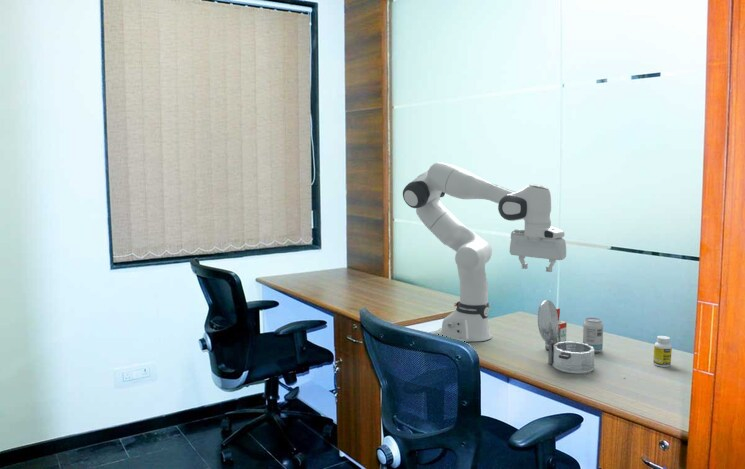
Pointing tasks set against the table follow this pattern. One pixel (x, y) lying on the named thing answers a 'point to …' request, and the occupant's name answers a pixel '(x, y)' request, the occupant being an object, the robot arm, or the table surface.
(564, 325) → the ink box
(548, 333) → the lid
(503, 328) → the table surface
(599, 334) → the beverage can
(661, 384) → the table surface
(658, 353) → the supplement bottle
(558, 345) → the pot
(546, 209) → the robot arm
